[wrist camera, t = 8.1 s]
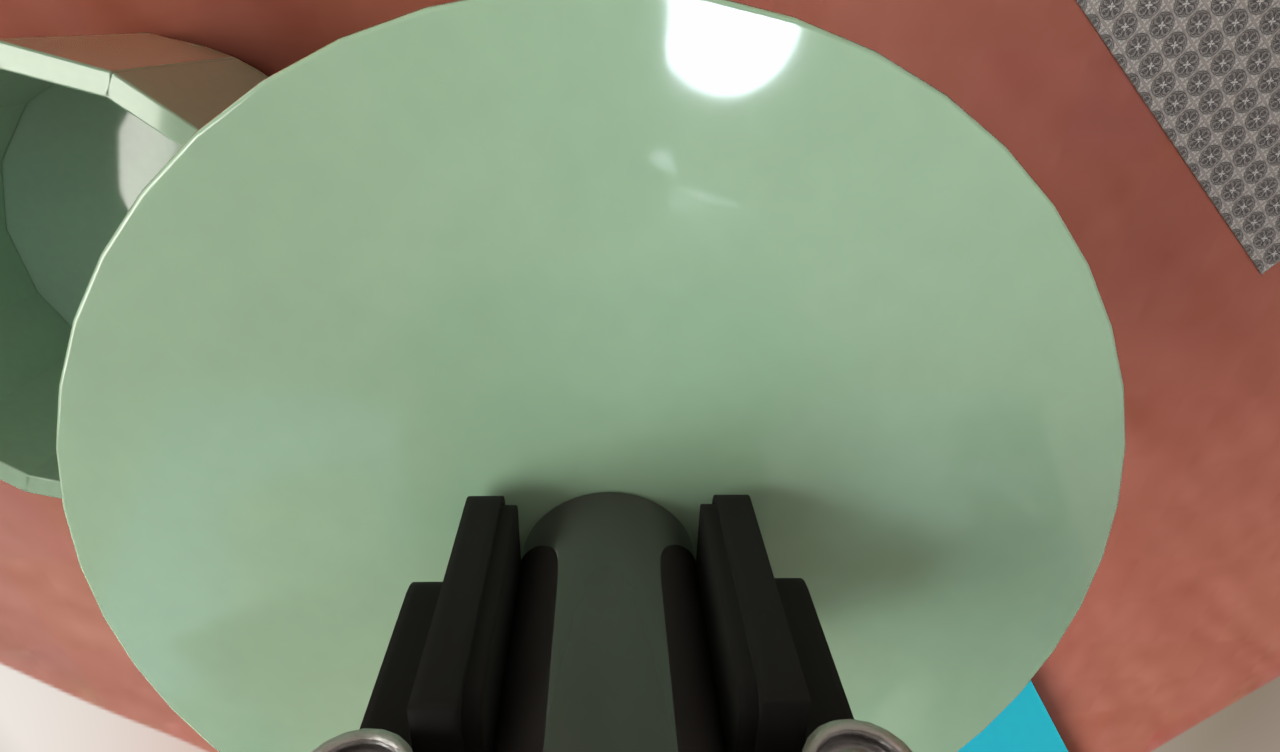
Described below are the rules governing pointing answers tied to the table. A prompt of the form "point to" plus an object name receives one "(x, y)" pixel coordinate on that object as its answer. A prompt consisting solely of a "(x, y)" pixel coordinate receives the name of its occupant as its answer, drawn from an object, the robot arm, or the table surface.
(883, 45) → the table surface
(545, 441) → the pot lid
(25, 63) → the pot
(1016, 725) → the floppy disk
